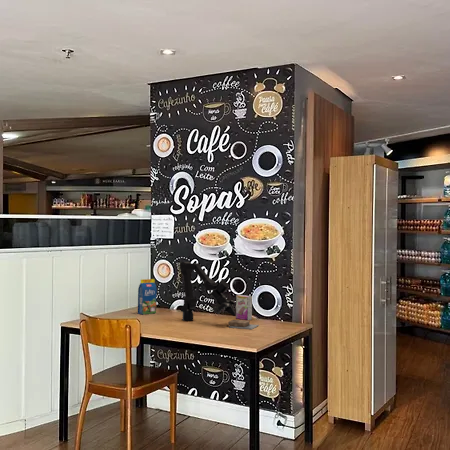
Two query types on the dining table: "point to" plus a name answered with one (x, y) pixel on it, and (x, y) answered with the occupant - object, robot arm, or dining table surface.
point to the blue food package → (147, 296)
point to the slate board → (245, 327)
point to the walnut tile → (239, 323)
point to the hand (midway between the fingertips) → (235, 315)
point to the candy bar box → (243, 307)
